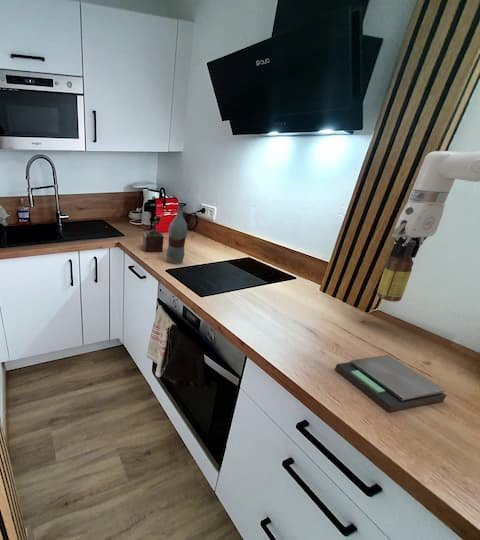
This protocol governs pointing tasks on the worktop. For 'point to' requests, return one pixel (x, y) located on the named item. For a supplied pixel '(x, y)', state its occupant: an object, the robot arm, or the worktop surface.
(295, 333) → the worktop surface
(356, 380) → the scale
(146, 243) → the pepper mill
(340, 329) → the worktop surface
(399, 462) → the worktop surface
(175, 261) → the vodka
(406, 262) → the sauce bottle
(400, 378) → the scale pan
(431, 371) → the worktop surface
